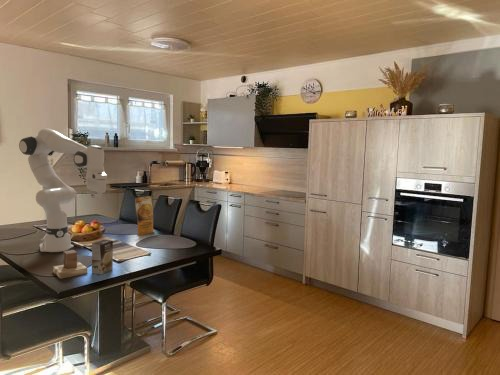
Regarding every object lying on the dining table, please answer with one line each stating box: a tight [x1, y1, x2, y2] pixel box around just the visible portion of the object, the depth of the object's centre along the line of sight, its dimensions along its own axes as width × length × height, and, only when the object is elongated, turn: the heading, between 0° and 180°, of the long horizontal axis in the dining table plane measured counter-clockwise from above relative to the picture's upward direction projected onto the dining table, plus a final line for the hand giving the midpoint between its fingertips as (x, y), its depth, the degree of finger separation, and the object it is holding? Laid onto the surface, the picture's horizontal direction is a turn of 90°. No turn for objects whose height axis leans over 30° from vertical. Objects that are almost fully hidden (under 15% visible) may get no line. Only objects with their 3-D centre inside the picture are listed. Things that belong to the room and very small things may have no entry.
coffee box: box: [91, 239, 114, 275], centre depth 197 cm, size 9×6×16 cm
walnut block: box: [63, 249, 78, 269], centre depth 193 cm, size 5×5×8 cm
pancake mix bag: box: [134, 195, 154, 236], centre depth 279 cm, size 7×19×28 cm, turn 151°
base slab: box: [52, 261, 88, 279], centre depth 193 cm, size 12×13×3 cm
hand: (95, 198), depth 210 cm, fingers open, 8 cm apart
